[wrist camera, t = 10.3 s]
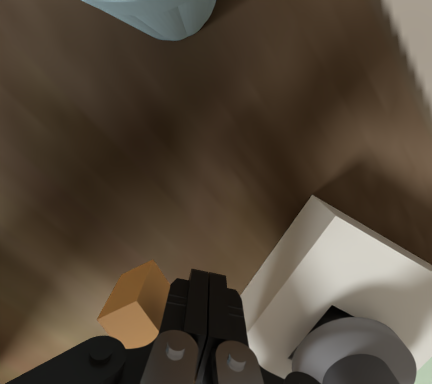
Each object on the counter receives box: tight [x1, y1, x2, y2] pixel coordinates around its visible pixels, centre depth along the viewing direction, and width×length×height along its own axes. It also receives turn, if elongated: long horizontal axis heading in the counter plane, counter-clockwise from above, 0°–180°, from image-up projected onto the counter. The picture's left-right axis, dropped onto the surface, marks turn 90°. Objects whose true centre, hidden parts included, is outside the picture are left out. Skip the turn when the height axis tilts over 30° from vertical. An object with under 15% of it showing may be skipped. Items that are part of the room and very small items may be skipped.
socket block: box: [240, 195, 432, 379], centre depth 20 cm, size 15×12×6 cm
